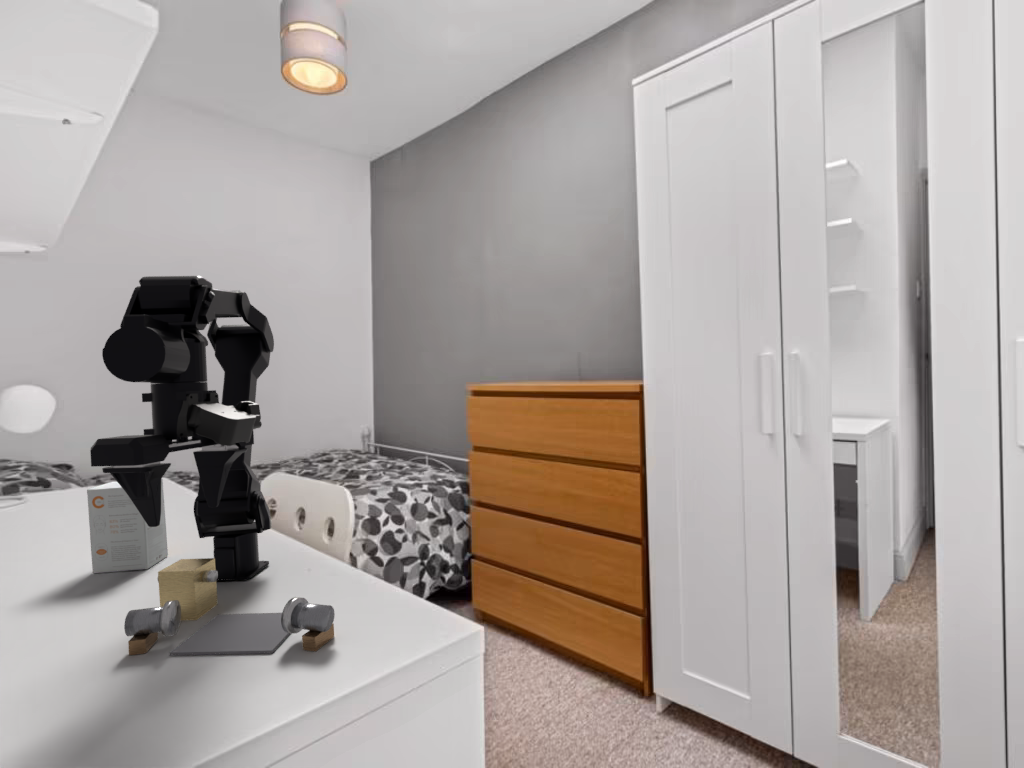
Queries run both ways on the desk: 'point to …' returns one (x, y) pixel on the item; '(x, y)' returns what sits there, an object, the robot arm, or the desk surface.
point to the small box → (122, 531)
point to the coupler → (190, 586)
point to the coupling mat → (236, 635)
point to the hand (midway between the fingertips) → (185, 516)
